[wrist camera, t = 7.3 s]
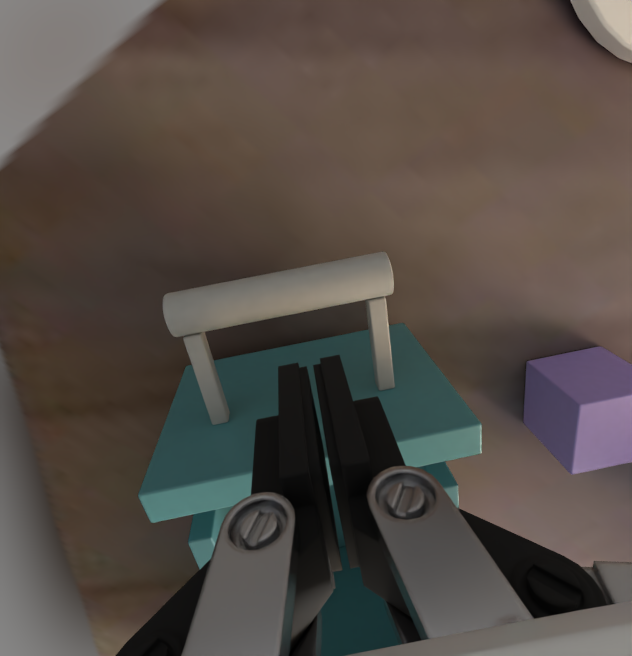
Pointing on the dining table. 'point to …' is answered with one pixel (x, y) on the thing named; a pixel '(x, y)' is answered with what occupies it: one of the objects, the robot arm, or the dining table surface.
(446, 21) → the dining table surface
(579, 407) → the lavender rounded cube
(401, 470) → the robot arm
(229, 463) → the teal drawer
